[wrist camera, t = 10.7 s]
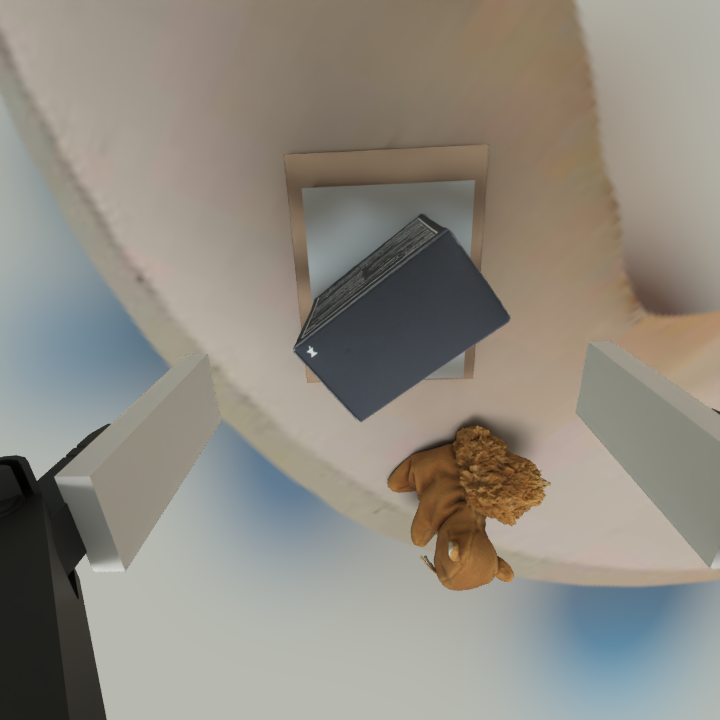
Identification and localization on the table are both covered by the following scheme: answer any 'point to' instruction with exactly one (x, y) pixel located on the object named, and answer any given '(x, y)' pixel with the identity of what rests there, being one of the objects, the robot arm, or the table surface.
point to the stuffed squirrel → (467, 503)
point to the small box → (398, 318)
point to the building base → (382, 173)
